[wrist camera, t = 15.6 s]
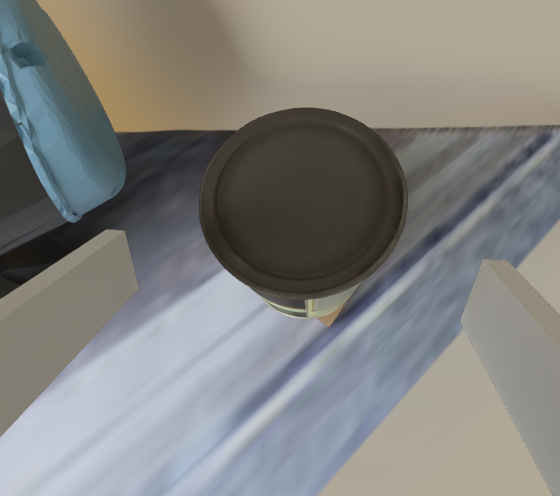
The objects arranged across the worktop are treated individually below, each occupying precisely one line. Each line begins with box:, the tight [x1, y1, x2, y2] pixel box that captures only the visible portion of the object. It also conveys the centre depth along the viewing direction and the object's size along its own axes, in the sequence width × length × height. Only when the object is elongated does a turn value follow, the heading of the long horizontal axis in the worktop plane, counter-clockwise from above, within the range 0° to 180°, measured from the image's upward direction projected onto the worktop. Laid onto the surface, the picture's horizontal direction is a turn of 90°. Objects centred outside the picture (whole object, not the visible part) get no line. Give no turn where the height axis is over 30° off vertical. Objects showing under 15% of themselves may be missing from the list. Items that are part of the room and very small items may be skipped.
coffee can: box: [199, 108, 408, 319], centre depth 22 cm, size 10×10×14 cm
